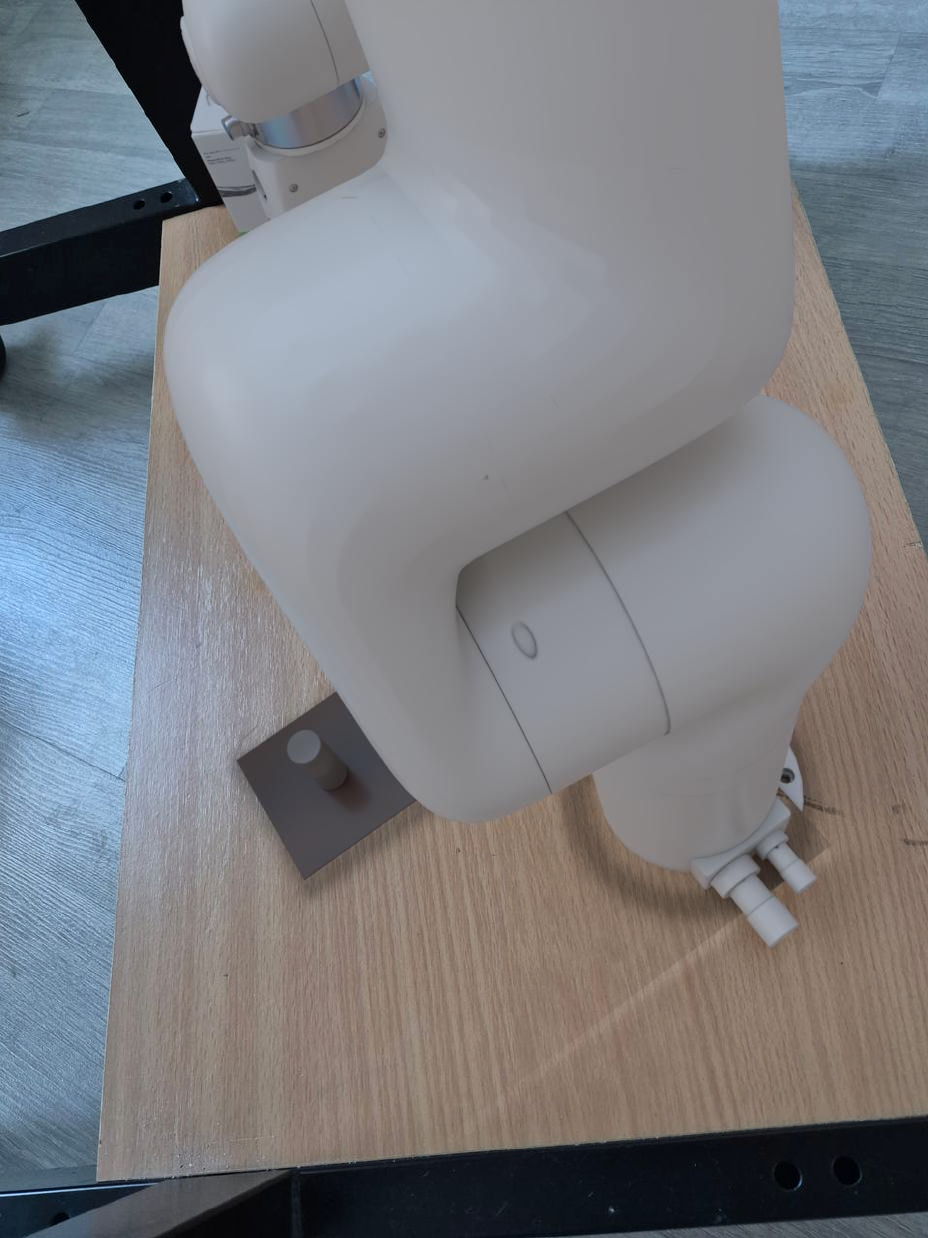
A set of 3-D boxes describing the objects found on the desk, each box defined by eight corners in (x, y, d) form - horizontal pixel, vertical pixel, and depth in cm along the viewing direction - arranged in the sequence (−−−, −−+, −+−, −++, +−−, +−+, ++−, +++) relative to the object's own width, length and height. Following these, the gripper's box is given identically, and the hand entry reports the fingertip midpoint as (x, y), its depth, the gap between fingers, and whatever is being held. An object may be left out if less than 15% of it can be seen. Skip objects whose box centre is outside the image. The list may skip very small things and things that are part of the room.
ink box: (305, 252, 83) (250, 127, 73) (248, 259, 84) (186, 137, 74) (316, 178, 87) (266, 50, 76) (261, 186, 88) (205, 60, 77)
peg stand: (438, 795, 60) (412, 760, 54) (312, 885, 59) (272, 860, 53) (363, 685, 64) (332, 642, 58) (245, 768, 63) (201, 732, 57)
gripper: (207, 198, 59) (306, 389, 75) (449, 48, 61) (497, 266, 77) (156, 138, 63) (261, 333, 78) (386, -2, 65) (444, 215, 80)
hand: (377, 298), depth 77 cm, fingers closed on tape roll, 7 cm apart
